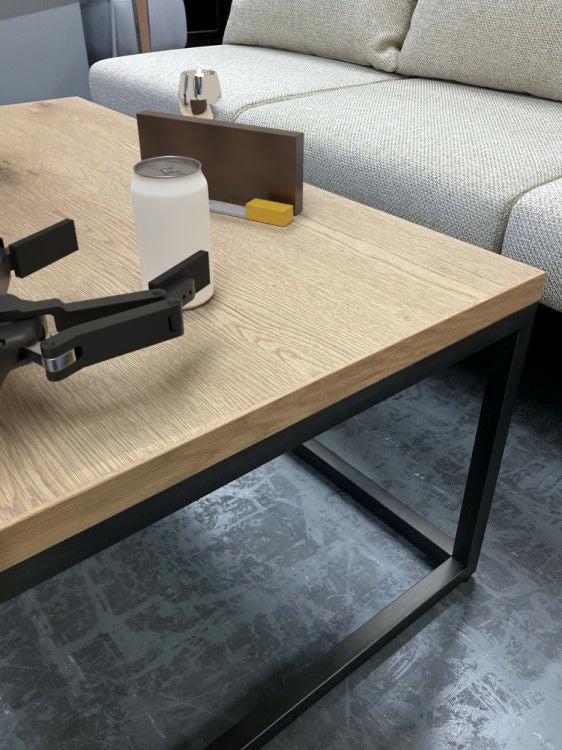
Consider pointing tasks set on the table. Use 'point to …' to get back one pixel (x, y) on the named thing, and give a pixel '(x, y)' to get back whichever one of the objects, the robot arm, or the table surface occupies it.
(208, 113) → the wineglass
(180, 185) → the can
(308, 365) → the table surface
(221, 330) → the table surface
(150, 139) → the backboard
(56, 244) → the robot arm
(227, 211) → the knife
